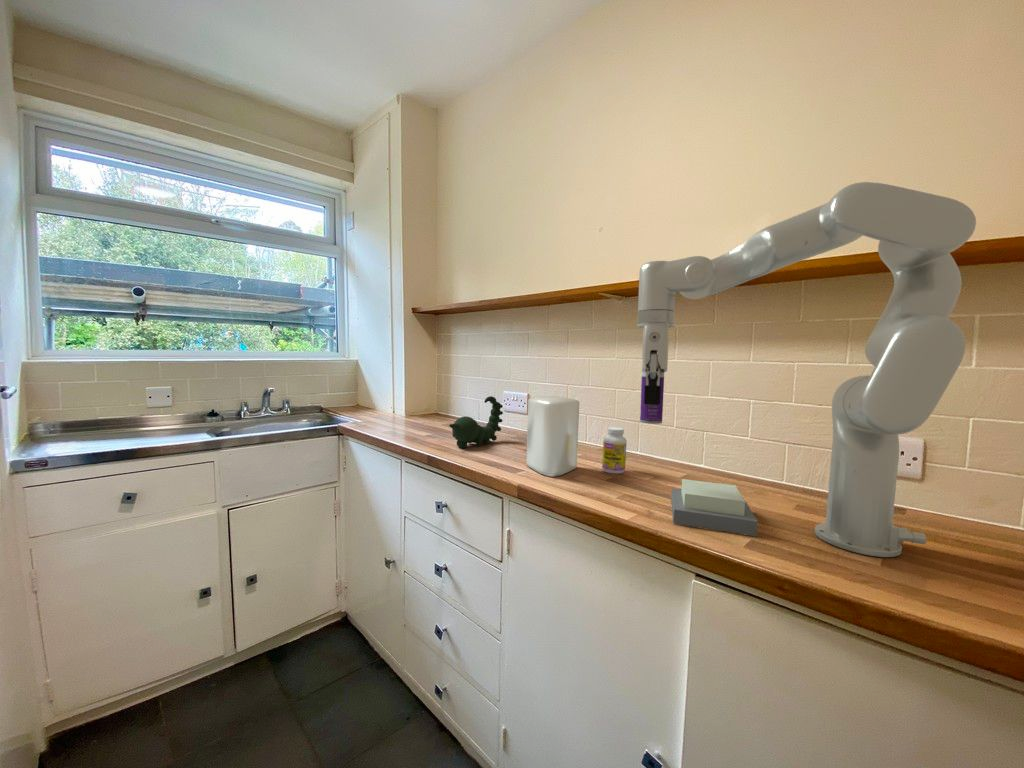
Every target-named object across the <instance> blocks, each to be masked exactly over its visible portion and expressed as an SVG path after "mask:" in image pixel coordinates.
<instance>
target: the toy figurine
mask: <svg viewBox="0 0 1024 768" xmlns="http://www.w3.org/2000/svg"><path fill="white" fill-rule="evenodd" d="M488 402H489V403H490V404H491V410H490V416H489V417H488V422H487V423H486V425H485V426H484V425H483V426H482V425H480V424H478V422H477V420H476V419H474V418H472V417H470V416H461V417H459V418H458V419H456V420H455V421H454V422H453V423H449V425H448V426H449V428H451V431H452V436H451V437H453V438H454V440H456V446H457V447H458V448H460V449H466V448H467V447H468V444H472V443H475V444H476V445H477V446H481V445H482V446H483V444H485V445H486V446H487V445H490V444H491V440H492V441H496V440H497V439H498V438H497V437H498V436H497V435H496V433H497V432H501V431H502V427H500V425H499V423H502V422H503V419H502V418H500V416H502V415H503V414H504V412H503V411H502V410H501V409H502V408H503V404H501V403H500V402H498V401H497V399H496V397H494V396H492V395H489V396H487V397H486V398H485V400H484V403H485V404H486V403H488Z"/></svg>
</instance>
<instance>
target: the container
mask: <svg viewBox="0 0 1024 768" xmlns="http://www.w3.org/2000/svg"><path fill="white" fill-rule="evenodd" d="M650 360H651V354H650ZM658 364H659V362H658ZM641 368H642V369H641V381H640V382H641V383H640V385H641V386H640V387H641V388H640V389H641V390H640V408H639V409H640V413H639V422H640V423H643V424H648V425H649V424H650V425H651V424H653V425H658V424H662V423H663V413H664V410H663V408H664V389H665V388H664V387H665V372H664V369H661V367H660V383H659V386H661V388H660V404H659V405H647V404H644V392H645V386H646V372H647V369H646V372H645V371H644V370H643V364H642V367H641ZM646 368H647V364H646ZM648 371H650V369H648ZM656 371H658V369H656ZM648 386H649V385H648Z"/></svg>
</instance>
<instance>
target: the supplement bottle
mask: <svg viewBox="0 0 1024 768" xmlns="http://www.w3.org/2000/svg"><path fill="white" fill-rule="evenodd" d="M606 430H607V431H606V432H607V435H606V436H605V437H604V438H603V445H602V462H601V463H602V464H601V469H602V470H603V472H605V473H609V474H614V475H615V474H617V475H618V474H623V473H624V472H625V471H626V459H627V444H628V443H627V439H626V437H624V433H625V432H624V430H625V429H624V428H622V427H618V426H611V427H610V426H609V427H607V429H606Z"/></svg>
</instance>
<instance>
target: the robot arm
mask: <svg viewBox="0 0 1024 768" xmlns="http://www.w3.org/2000/svg"><path fill="white" fill-rule="evenodd" d="M976 218H977V217H976V215H975V213H974V211H973V210H972V209H971V208H970V207H969V206H968V205H967V204H965V203H964V202H961V201H959V200H958V199H954V198H950V197H946V196H942V195H938V194H933V193H928V192H923V191H920V190H915V189H910V188H907V187H906V188H905V187H902V186H896V185H892V184H888V183H883V182H882V183H881V182H869V181H863V182H854V183H852V184H849V185H847V186H845V187H843V188H841V190H839V191H837V193H835V194H834V196H832V198H830V200H829V201H828V202H827V203H824V204H822V205H819V206H817V207H814V208H811V209H809V210H806V211H803V212H802V213H799V214H797V215H794V216H792V217H789V218H787V219H784V220H782V221H780V222H776V223H773V224H771V225H769V226H766V227H764V228H762V229H761V230H759V231H757V232H756V233H754V234H752V236H750V237H749V238H748V239H747V240H746V241H744V242H743V243H741V244H740V245H738V246H737V247H735V248H734V249H731V250H730V251H728V252H726V253H724V254H722V255H719V256H717V257H715V258H711V259H710V258H708V257H706V256H702V255H693V256H689V257H684V258H679V259H675V260H655V261H654V260H653V261H648V262H645V263H643V264H642V265H641V267H640V269H639V273H638V274H639V276H638V277H639V278H638V281H639V282H638V302H637V303H638V304H637V323H636V326H637V328H642V352H641V354H642V365H643V370H644V371H645V372H646V369H647V372H646V386H645V392H644V404H647V405H659V404H660V388H661V386H659V383H660V367H661V369H664V373H667V372H668V362H669V328H674V326H675V307H676V306H675V305H676V303H675V301H676V293H680V295H681V296H683V297H684V298H686V299H689V300H699V299H704V298H706V297H709V296H712V295H714V294H715V295H716V294H717V293H720V292H723V291H726V290H728V289H731V288H734V287H736V286H739V285H741V284H744V283H746V282H749V281H751V280H754V279H756V278H761V277H762V276H765V275H769V274H771V273H772V272H774V271H777V270H780V269H782V268H785V267H788V266H790V265H794V264H795V263H799V262H802V261H804V260H806V259H809V258H812V257H813V258H814V257H815V256H819V255H821V254H824V253H827V252H829V251H832V250H836V249H838V248H840V247H843V246H846V245H849V244H851V243H853V242H854V241H857V240H858V239H860V238H861V237H863V236H864V237H867V238H870V239H873V240H876V241H878V245H877V246H878V247H877V253H878V256H879V258H880V260H881V261H882V262H883V264H884V265H886V267H887V268H888V269H889V271H890V272H891V274H892V277H893V280H894V281H893V282H894V283H893V285H894V286H893V290H892V292H891V294H890V297H889V299H888V302H887V303H886V306H885V308H884V310H883V311H882V314H881V316H880V317H879V319H878V321H877V323H876V325H875V327H874V329H873V330H872V332H871V334H870V335H869V337H868V339H867V341H866V344H865V349H864V352H865V353H864V355H865V357H866V359H867V361H868V363H870V364H871V365H872V366H874V368H873V370H872V372H871V373H870V375H858V376H854V377H852V378H849V379H847V380H846V381H844V382H843V383H841V384H840V385H839V386H838V387H837V388H836V390H835V392H834V393H833V396H832V400H831V401H832V402H831V415H832V416H831V418H832V445H831V456H830V457H831V458H830V466H829V467H830V468H829V477H828V478H829V480H828V491H827V492H828V493H827V504H826V513H825V516H826V517H825V522H821V523H818V524H816V525H815V527H814V533H815V535H816V536H817V537H818V538H819V539H821V540H823V541H824V542H826V543H828V544H830V545H832V546H835V547H837V548H840V549H843V550H845V551H849V552H853V553H857V554H861V555H864V556H865V555H866V556H871V557H879V558H894V557H898V556H901V554H902V549H903V547H902V545H901V543H903V544H904V542H910V543H911V544H913V543H914V544H919V545H925V544H926V543H927V536H926V534H925V533H924V532H917V531H910V530H909V528H906V527H899V526H897V525H895V524H893V520H894V509H895V500H896V490H897V479H898V469H899V463H900V462H899V461H900V439H899V438H900V437H899V435H904V434H908V433H910V432H914V431H915V430H917V429H918V428H919V427H921V426H922V425H923V424H924V423H925V422H926V421H927V420H928V419H929V418H930V417H931V415H932V414H933V412H934V411H935V409H936V407H937V405H938V404H939V402H940V400H941V399H942V396H943V395H944V393H945V392H946V390H947V388H948V386H949V385H950V383H951V381H952V379H953V377H954V376H955V374H956V372H957V371H958V369H959V367H960V365H961V363H962V361H963V359H964V356H965V352H966V337H965V334H964V333H963V331H962V329H961V328H960V326H959V325H958V324H957V323H955V322H954V321H952V320H951V319H949V318H950V316H951V314H952V313H953V310H954V308H955V306H956V304H957V302H958V300H959V296H960V295H961V290H962V286H963V285H962V284H963V280H962V275H961V271H960V269H959V266H958V264H957V263H956V261H955V259H954V257H953V255H952V254H951V253H953V252H954V251H956V250H958V249H959V248H960V247H961V248H962V246H963V245H965V244H966V243H967V242H968V241H969V239H970V238H971V237H972V236H973V234H974V232H975V230H976V225H977V219H976ZM650 354H651V360H650ZM658 362H659V364H658ZM646 364H647V368H646ZM648 369H650V371H648ZM656 369H658V371H656ZM648 385H649V386H648Z"/></svg>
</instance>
